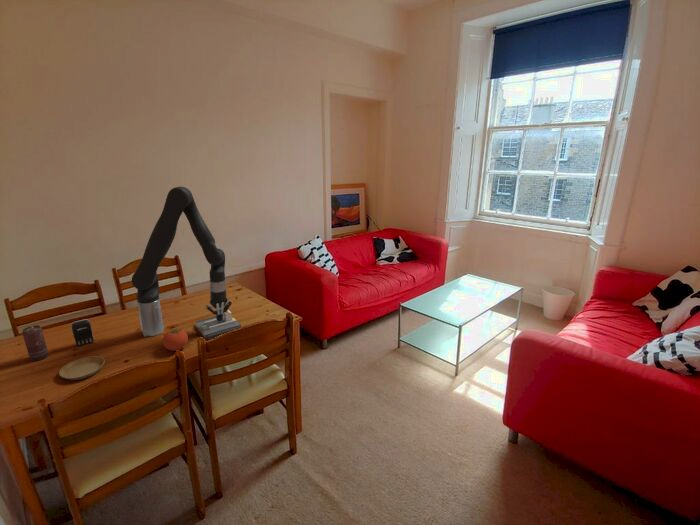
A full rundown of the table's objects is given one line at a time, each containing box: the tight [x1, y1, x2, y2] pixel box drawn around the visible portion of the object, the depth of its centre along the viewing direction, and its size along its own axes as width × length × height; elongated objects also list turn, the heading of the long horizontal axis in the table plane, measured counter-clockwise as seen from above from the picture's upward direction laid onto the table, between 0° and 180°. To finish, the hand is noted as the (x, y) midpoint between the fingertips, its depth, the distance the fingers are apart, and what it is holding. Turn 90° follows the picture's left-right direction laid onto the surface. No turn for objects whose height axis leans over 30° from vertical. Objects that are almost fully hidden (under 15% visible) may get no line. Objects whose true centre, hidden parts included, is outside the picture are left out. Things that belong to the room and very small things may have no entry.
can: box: [21, 325, 49, 362], centre depth 147 cm, size 6×6×14 cm
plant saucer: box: [58, 355, 105, 381], centre depth 141 cm, size 15×15×3 cm
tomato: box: [162, 328, 189, 352], centre depth 157 cm, size 10×10×10 cm
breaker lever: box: [223, 309, 233, 322], centre depth 180 cm, size 3×4×5 cm
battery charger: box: [71, 318, 95, 347], centre depth 159 cm, size 7×4×11 cm, turn 130°
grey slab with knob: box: [195, 315, 242, 341], centre depth 178 cm, size 16×19×2 cm
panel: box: [194, 316, 242, 339], centre depth 178 cm, size 18×15×3 cm
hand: (219, 320), depth 178 cm, fingers closed
